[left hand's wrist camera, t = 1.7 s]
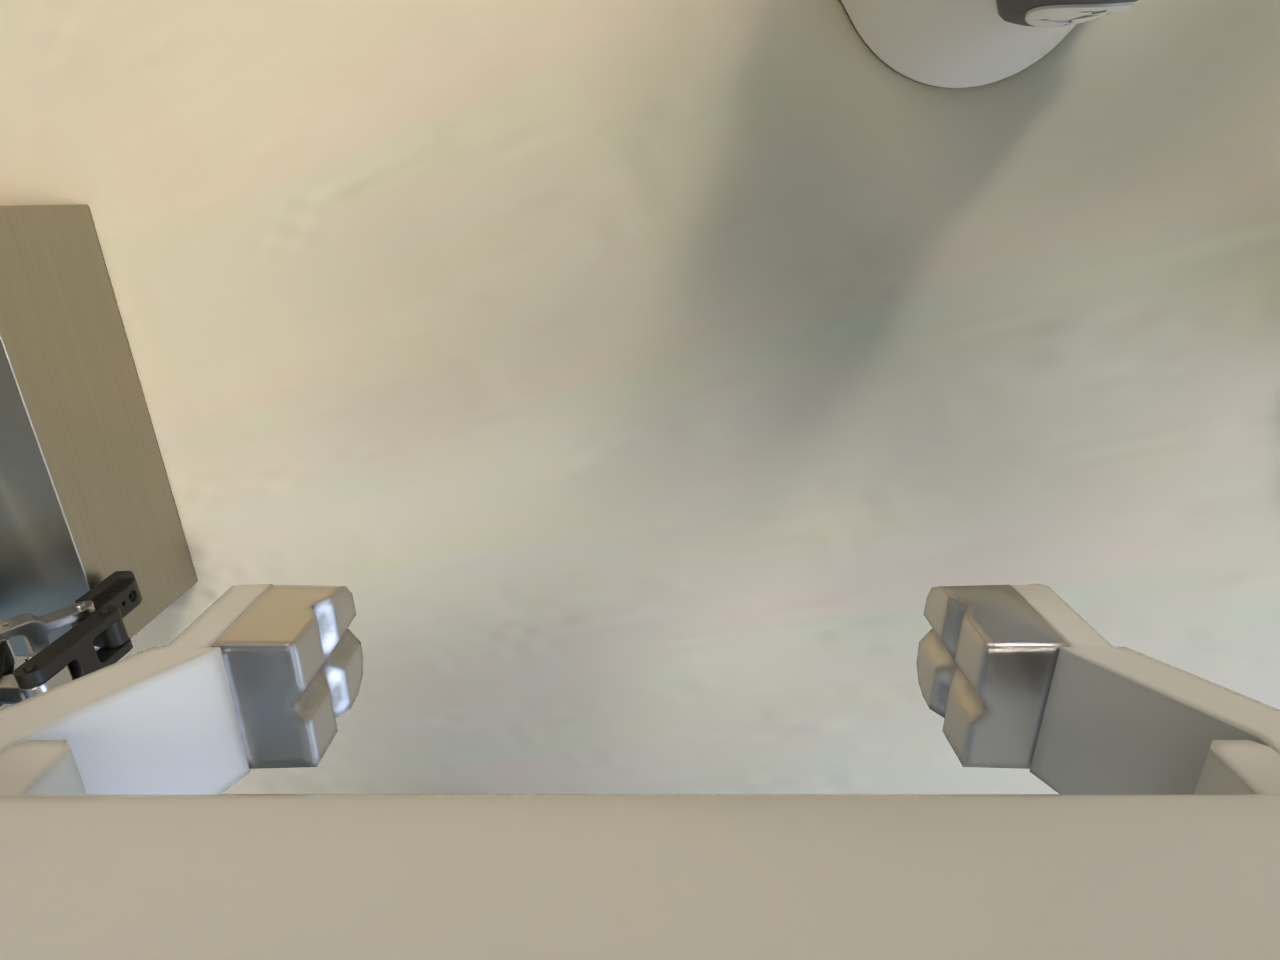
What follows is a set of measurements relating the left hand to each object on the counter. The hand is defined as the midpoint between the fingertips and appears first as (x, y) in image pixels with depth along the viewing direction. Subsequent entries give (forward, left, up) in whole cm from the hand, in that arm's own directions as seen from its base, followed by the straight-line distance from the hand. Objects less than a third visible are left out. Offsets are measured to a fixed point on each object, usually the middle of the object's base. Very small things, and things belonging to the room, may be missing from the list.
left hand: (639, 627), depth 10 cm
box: (+6, -35, -36) cm, 50 cm away
